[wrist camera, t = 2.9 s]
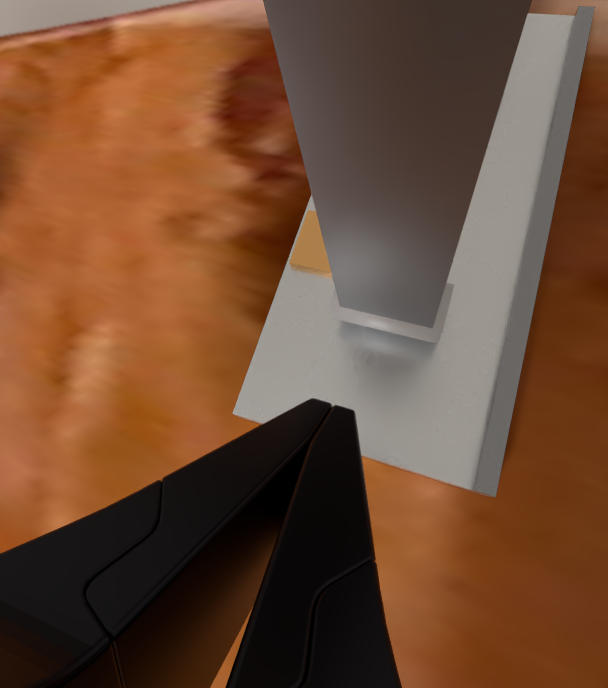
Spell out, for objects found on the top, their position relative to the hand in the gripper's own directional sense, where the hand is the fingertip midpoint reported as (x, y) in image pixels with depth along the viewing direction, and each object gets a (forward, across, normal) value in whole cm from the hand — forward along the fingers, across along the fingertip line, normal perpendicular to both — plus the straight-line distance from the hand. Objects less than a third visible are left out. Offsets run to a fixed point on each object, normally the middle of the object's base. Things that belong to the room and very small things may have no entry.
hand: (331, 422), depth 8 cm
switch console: (+13, 0, -1) cm, 13 cm away
